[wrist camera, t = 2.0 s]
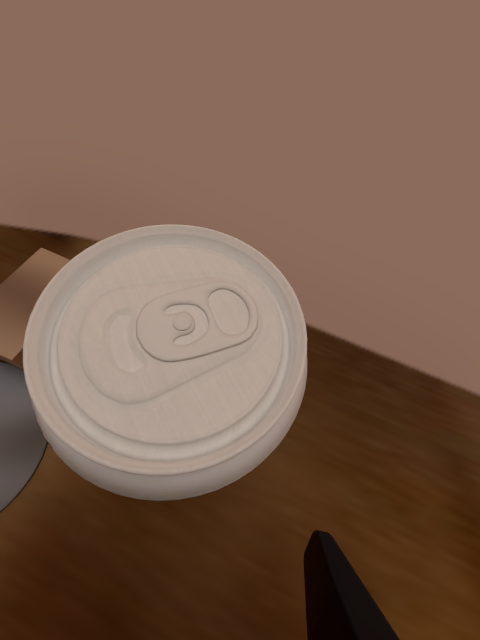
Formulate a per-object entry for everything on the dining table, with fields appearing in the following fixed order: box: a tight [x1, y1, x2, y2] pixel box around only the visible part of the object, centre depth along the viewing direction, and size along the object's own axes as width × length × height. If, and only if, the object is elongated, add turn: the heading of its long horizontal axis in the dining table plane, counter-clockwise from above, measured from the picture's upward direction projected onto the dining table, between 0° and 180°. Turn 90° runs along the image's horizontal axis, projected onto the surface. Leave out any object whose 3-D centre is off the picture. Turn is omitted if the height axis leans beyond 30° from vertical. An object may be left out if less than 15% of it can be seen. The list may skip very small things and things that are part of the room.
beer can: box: [23, 225, 307, 501], centre depth 12 cm, size 6×6×15 cm
